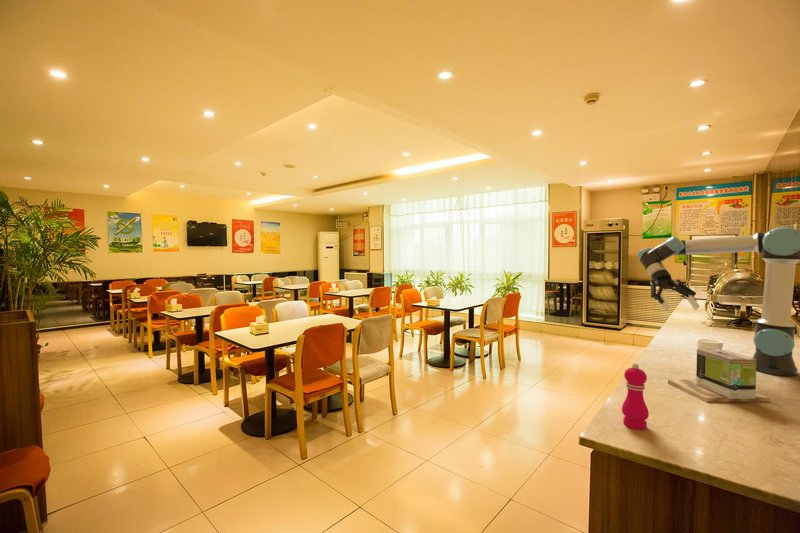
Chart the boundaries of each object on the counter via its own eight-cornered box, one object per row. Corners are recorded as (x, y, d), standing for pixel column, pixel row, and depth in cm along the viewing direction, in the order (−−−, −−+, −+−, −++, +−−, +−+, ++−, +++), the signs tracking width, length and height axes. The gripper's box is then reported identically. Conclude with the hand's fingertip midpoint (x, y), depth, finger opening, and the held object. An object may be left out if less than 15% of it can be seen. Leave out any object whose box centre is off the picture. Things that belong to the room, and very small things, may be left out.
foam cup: (700, 369, 167) (700, 342, 167) (692, 364, 176) (693, 337, 175) (725, 372, 164) (726, 343, 163) (717, 366, 172) (717, 339, 172)
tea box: (756, 399, 130) (758, 358, 129) (729, 399, 130) (730, 359, 129) (719, 384, 145) (720, 347, 145) (694, 384, 145) (695, 348, 144)
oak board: (723, 382, 151) (723, 379, 151) (769, 401, 132) (769, 397, 132) (668, 383, 151) (668, 379, 151) (706, 402, 132) (706, 397, 132)
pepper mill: (616, 420, 118) (617, 360, 118) (637, 419, 119) (637, 359, 118) (632, 431, 111) (633, 367, 111) (654, 430, 112) (655, 366, 111)
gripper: (679, 278, 182) (704, 312, 168) (630, 279, 182) (651, 313, 168) (688, 268, 177) (714, 302, 163) (637, 269, 177) (659, 303, 162)
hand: (682, 308), depth 165 cm, fingers open, 13 cm apart
